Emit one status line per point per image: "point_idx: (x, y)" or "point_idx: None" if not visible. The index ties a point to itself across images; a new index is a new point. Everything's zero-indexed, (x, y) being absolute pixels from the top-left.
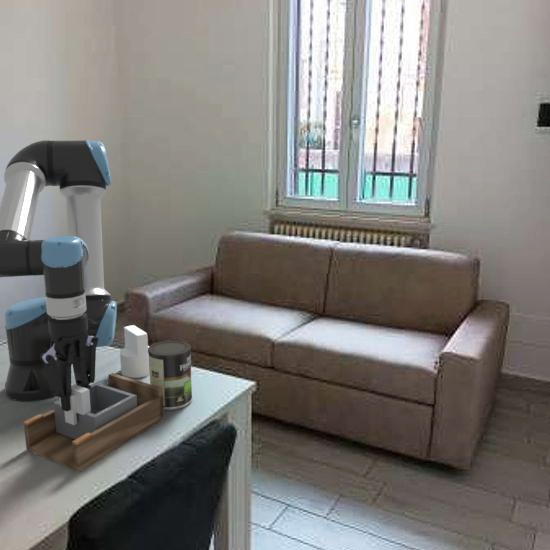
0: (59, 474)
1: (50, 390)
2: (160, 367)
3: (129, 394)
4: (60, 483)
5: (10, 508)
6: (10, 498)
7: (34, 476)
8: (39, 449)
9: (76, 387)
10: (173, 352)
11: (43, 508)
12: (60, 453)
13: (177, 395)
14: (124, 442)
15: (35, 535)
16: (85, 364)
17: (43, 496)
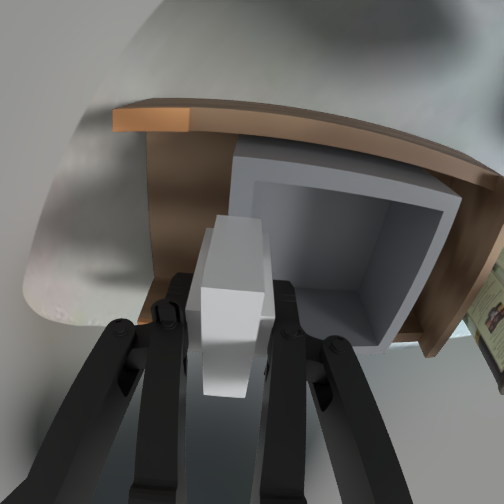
0: (130, 253)
1: (98, 340)
2: (495, 349)
3: (386, 340)
4: (116, 274)
5: (37, 252)
6: (43, 232)
7: (95, 215)
8: (151, 152)
9: (230, 365)
10: None
11: (70, 292)
12: (168, 216)
13: None
14: None
15: (48, 314)
16: (341, 432)
17: (80, 274)
